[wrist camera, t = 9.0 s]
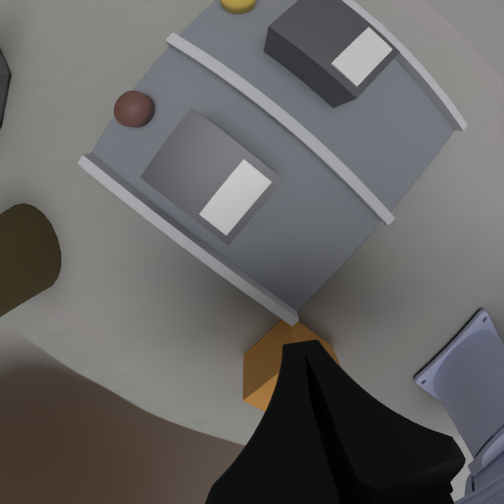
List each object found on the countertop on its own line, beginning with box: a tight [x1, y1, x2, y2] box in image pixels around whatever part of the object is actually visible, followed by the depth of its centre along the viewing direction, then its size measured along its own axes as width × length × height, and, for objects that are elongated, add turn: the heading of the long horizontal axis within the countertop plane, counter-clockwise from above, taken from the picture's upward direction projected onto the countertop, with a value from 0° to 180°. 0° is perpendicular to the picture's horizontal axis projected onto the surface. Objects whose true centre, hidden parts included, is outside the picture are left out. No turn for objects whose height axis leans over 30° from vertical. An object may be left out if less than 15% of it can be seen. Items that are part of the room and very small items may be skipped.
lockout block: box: [243, 319, 340, 411], centre depth 16 cm, size 4×4×4 cm
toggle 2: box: [264, 0, 400, 108], centre depth 9 cm, size 4×3×3 cm
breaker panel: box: [78, 0, 467, 326], centre depth 12 cm, size 13×14×2 cm
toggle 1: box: [140, 108, 284, 245], centre depth 11 cm, size 4×3×3 cm
